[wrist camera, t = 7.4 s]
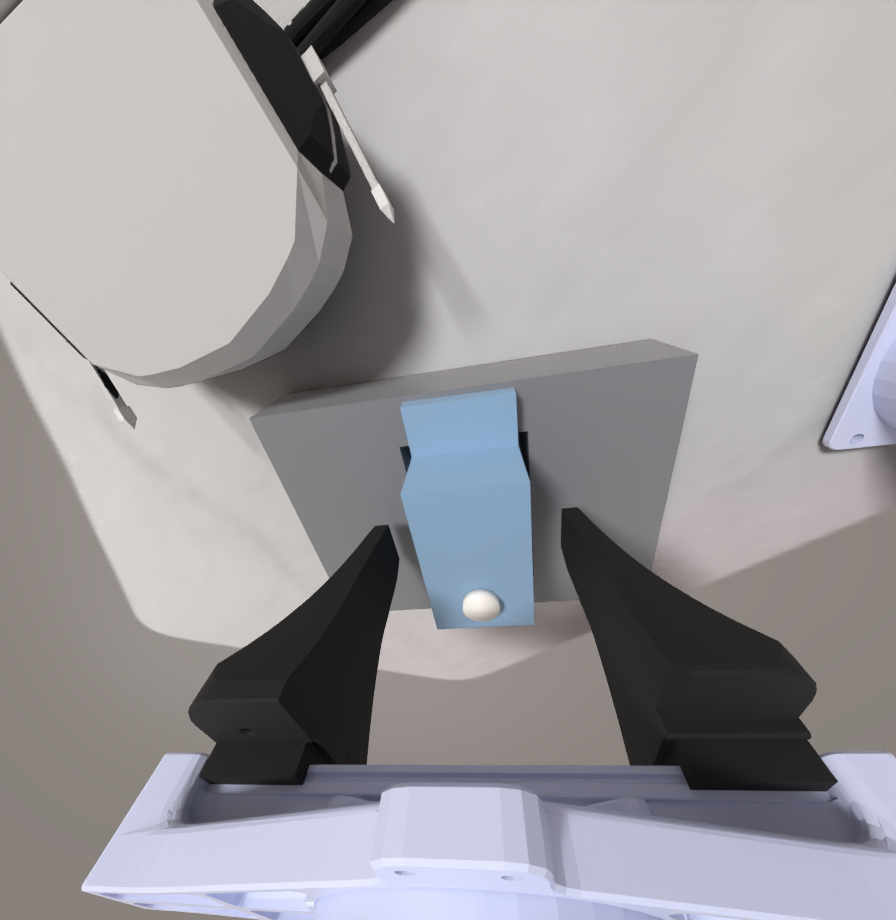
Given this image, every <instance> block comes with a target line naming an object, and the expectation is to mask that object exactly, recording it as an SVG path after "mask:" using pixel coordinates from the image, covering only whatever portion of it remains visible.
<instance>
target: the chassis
mask: <svg viewBox="0 0 896 920" xmlns="http://www.w3.org/2000/svg"><path fill="white" fill-rule="evenodd" d="M697 358H698V354H696V353H693V352H690V351H687V350H684V349H681V348H678V347H674V346H671V345H668V344H665V343H662V342H659V341H656V340H652V339H648V340H642V341H635V342H628V343H622V344H615V345H609V346H602V347H595V348H589V349H582V350H575V351H569V352H562V353H555V354H549V355H542V356H536V357H529V358H522V359H516V360H509V361H502V362H496V363H489V364H482V365H476V366H469V367H463V368H456V369H449V370H443V371H436V372H429V373H423V374H416V375H409V376H403V377H396V378H390V379H383V380H376V381H370V382H363V383H356V384H350V385H343V386H336V387H330V388H323V389H317V390H310V391H303V392H297V393H290V394H287V395H285V396H283V397H282V398H280V399H279V400H277V401H276V402H274V403H272V404H271V405H269V406H268V407H266V408H265V409H263V410H261V411H260V412H258V413H257V414H255V415H254V416H252V417H250V418H249V419H250V421H251V423H252V425H253V427H254V429H255V431H256V433H257V435H258V437H259V439H260V441H261V443H262V445H263V447H264V449H265V451H266V453H267V455H268V457H269V459H270V461H271V463H272V465H273V466H274V468H275V470H276V472H277V474H278V476H279V478H280V480H281V482H282V484H283V486H284V488H285V490H286V492H287V494H288V496H289V498H290V500H291V502H292V504H293V506H294V508H295V510H296V512H297V514H298V516H299V518H300V520H301V522H302V524H303V526H304V528H305V530H306V532H307V534H308V536H309V538H310V540H311V542H312V544H313V546H314V548H315V550H316V552H317V554H318V556H319V558H320V560H321V562H322V564H323V566H324V568H325V570H326V572H327V574H328V576H329V578H330V577H331V576H332V575H333V574H334V573H335V572H336V571H337V570H338V569H339V568H340V567H341V566H342V564H343V563H344V562H345V561H346V560H347V559H348V558H349V556H350V555H351V554H352V553H353V552H354V550H355V549H356V548H357V547H358V546H359V544H360V543H361V542H362V541H363V540H364V538H365V537H366V536H367V535H368V533H369V532H370V531H371V530H372V529H373V528H374V526H379V525H389V528H390V531H391V534H392V537H393V540H394V543H395V546H396V549H397V552H398V555H399V558H400V560H399V569H398V576H397V583H396V587H395V591H394V595H393V599H392V603H391V607H390V610H389V611H393V610H410V609H428V608H432V607H431V604H430V600H429V597H428V593H427V589H426V586H425V582H424V578H423V575H422V571H421V568H420V564H419V560H418V557H417V553H416V550H415V546H414V542H413V539H412V535H411V532H410V528H409V524H408V521H407V517H406V513H405V510H404V506H403V503H402V499H401V495H400V494H401V491H402V488H403V484H404V481H405V478H406V475H407V471H408V468H409V465H410V462H411V458H412V456H411V452H410V448H409V444H408V440H407V435H406V431H405V427H404V423H403V419H402V414H401V410H400V407H401V405H402V403H403V402H407V401H415V400H422V399H430V398H438V397H445V396H453V395H460V394H468V393H475V392H483V391H491V390H498V389H506V388H513V387H514V390H515V392H516V404H517V425H518V446H519V449H520V452H521V455H522V458H523V461H524V465H525V468H526V471H527V474H528V477H529V480H530V495H531V529H532V562H533V596H534V602H548V601H565V600H579V597H578V595H577V592H576V590H575V588H574V585H573V583H572V580H571V578H570V575H569V573H568V570H567V567H566V563H565V560H564V556H563V553H562V549H561V509H562V508H573V507H578V508H579V509H580V510H581V511H582V512H583V513H584V514H585V515H586V516H587V517H588V518H589V519H590V520H591V521H592V522H593V523H594V524H595V525H596V526H597V527H598V528H599V529H600V530H601V531H603V532H604V533H605V534H606V535H607V536H608V537H609V538H610V539H611V540H612V541H614V542H615V543H616V544H617V545H618V546H619V547H620V548H622V549H623V550H624V551H625V552H626V553H628V554H629V555H630V556H631V557H633V558H634V559H635V560H636V561H638V562H639V563H640V564H642V565H643V566H644V567H646V568H647V569H648V570H650V571H651V567H652V563H653V558H654V554H655V549H656V545H657V540H658V535H659V531H660V526H661V522H662V517H663V513H664V508H665V504H666V499H667V494H668V490H669V485H670V481H671V476H672V472H673V467H674V463H675V458H676V454H677V449H678V444H679V440H680V435H681V431H682V426H683V422H684V417H685V413H686V408H687V403H688V399H689V394H690V390H691V385H692V381H693V376H694V372H695V367H696V363H697Z"/></svg>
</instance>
